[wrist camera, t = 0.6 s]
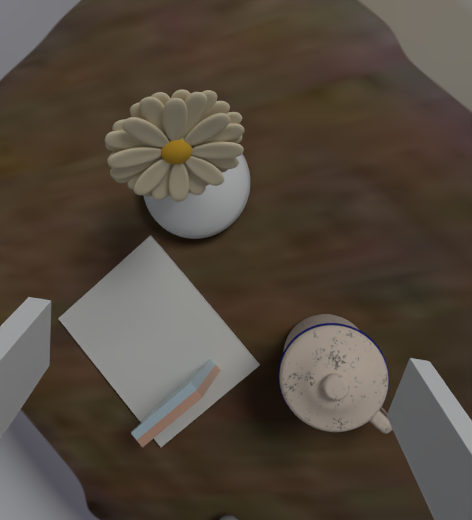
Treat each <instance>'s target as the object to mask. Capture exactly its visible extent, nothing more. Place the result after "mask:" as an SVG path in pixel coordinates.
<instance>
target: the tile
mask: <svg viewBox="0 0 472 520" xmlns="http://www.w3.org/2000/svg"><path fill="white" fill-rule="evenodd" d="M219 372H220V369H219V368H218V366H217V365H216V364H215V363H214V362H213V360H212V359H210V360H208V361H207V362H206V363H205V364H204V365H203V366H201V367H200V368H199V369H198V370H197V371H195V372H194V373H193V374H192V375H191V376H190V377H188V378H187V379H186V380H185V381H184V382H182V383H181V384H180V385H179V386H178V387H177V388H175V389H174V390H173V391H172V392H171V393H169V394H168V395H167V396H166V397H165V398H164V399H162V400H161V401H160V403H159V404H158V405H157V406H156V407H155V408H154V409H153V410H152V411H151V412H150V413H149V414H148V415H147V416H146V417H145V418H144V419H143V421H142V422H141V423H140V424H139V425H138V426H137V427H136V428H135V429H134V430H133V431H132V432H131V434H132V435H133V436H134V438H135V439H136V440H137V441H138V443H139V444H140V445H141V446H142V448H143V447H144V446H145V445H146V444H147V443H149V442H150V441H151V440H152V439H153V438H154V437H156V436H157V435H158V434H159V433H160V432H162V431H163V430H164V429H165V428H166V427H168V426H169V425H170V424H171V423H172V422H174V421H175V420H176V419H177V418H178V417H180V416H181V415H182V414H183V413H184V412H186V411H187V410H188V409H189V408H190V407H192V406H193V405H194V404H195V403H196V402H198V401H199V400H200V399H201V398H202V397H203V396H204V394H205V393H206V391H207V390H208V388H209V387H210V385H211V384H212V382H213V381H214V379H215V378H216V376H217V375H218V373H219Z"/></svg>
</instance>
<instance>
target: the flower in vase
mask: <svg viewBox="0 0 472 520" xmlns="http://www.w3.org/2000/svg"><path fill="white" fill-rule="evenodd" d="M216 100H217V94H216V93H215V92H213V91H210V90H206V91H203V92H194V93H192V94H190V92H188V91H187V90H177V91H176V92H174V94H173V95H172V97H171V99H170V97H169V96H168V95H167V94H165V93H163V92H158V93H155V94H153V95H152V96H151V97H146V98H143V99H142V100H141V101H140V103H136V104H134V105H132V107H131V108H130V113H131V116H132V117H131V118H128V119H126V120H119V121H117V122H116V123H115V124H114V125H113V131H112V132H110V133H108V134H107V135H106V137H105V143H106V148H107V149H108V150H111V151H114V152H113V153H112V154H110V155H109V157H108V165H109V166H110V167H112V169H111V171H110V175H111V176H112V178H114V180H115V181H116V182H119V183H124V182H128V187H129V188H130V189H133V190H134V193H135V194H137V195H144V200H145V203H146V206H147V208H148V210H149V212H150V213H151V215H152V217H153V218H154V219H155V220H156V222H157V223H158V224H159V225H161V226H162V227H163V228H164V229H166V230H167V231H169V232H171V233H172V234H175V235H177V236H180V237H184V238H192V239H198V238H206V237H210V236H213V235H216V234H218V233H220V232H222V231H223V230H225V229H227V228H228V227H229V226H230V225H231V224H233V223H234V221H235V220H236V219H237V218H238V217H239V215H240V214H241V213H242V211H243V209H244V207H245V205H246V202H247V200H248V196H249V192H250V173H249V168H248V165H247V162H246V160H245V158H244V156H243V154H242V153H243V147H242V146H241V145H239V144H238V143H239V142H241V140H242V134H243V133H244V127H243V126H242V125H240V124H239V123H240V122H241V120H242V116H241V115H240V114H239V113H237V112H229V113H228V111H229V109H230V106H229V104H228V103H226V102H224V101H216Z"/></svg>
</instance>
